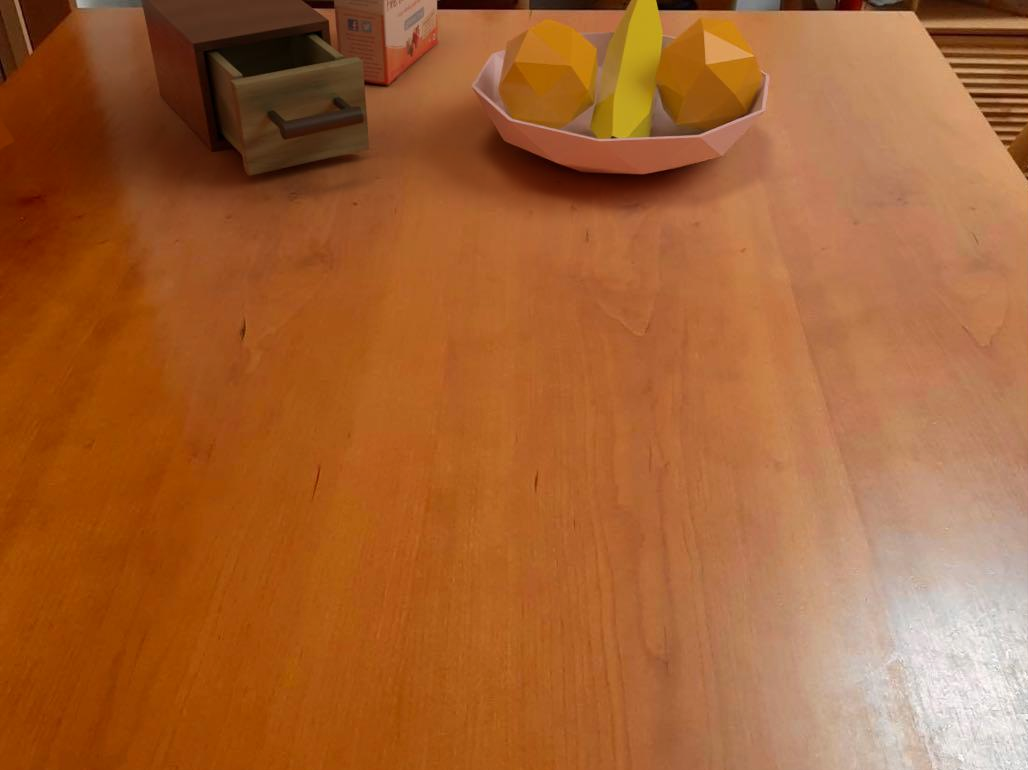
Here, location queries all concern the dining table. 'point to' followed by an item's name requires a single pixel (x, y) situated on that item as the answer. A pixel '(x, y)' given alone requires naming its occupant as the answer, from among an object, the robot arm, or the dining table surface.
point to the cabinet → (214, 47)
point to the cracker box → (385, 34)
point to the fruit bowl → (624, 93)
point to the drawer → (288, 101)
